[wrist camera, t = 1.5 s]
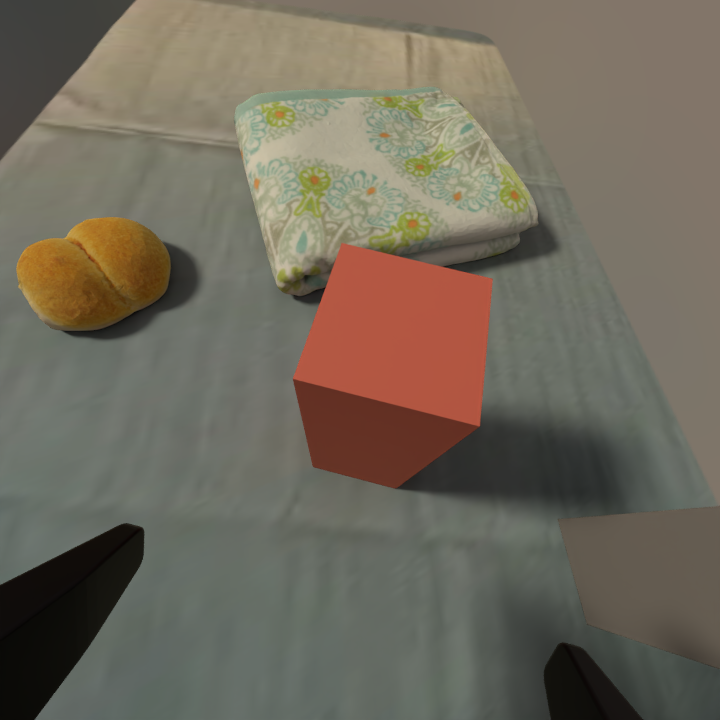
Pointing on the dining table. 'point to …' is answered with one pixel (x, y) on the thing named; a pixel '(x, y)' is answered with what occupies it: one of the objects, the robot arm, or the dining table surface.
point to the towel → (375, 180)
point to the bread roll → (94, 274)
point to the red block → (392, 365)
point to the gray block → (651, 577)
